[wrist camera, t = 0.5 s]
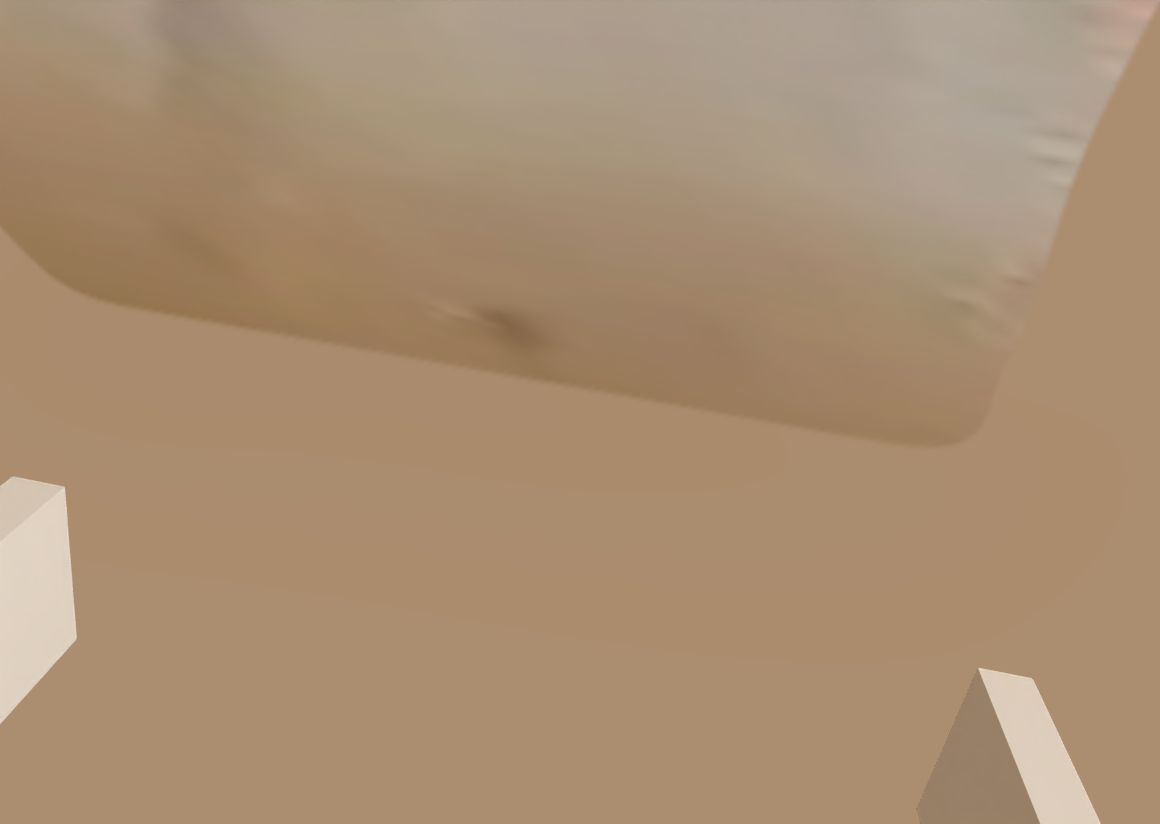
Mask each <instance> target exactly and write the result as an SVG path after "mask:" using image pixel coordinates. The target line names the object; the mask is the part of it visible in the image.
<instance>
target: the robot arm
mask: <svg viewBox="0 0 1160 824" xmlns="http://www.w3.org/2000/svg"><path fill="white" fill-rule="evenodd" d="M65 497H66V496H65V487H64V486H58V485H53V484H48V483H43V482H38V481H33V480H28V479H23V478H18V477H11V478H10V479H9V480H7V481H6V482H5V483H4V484H2V485H1V486H0V723H1V722H2V721H3V720H4V719H5V718H6V717H7V716H8V715H9V714H10V712H11V711H12V710H13V709H14V708H15V707H16V706H17V705H18V704H19V702H20V701H21V700H22V699H23V698H24V697H25V696H26V695H27V694H28V692H29V691H30V690H31V689H32V688H33V687H34V686H35V685H36V683H37V682H38V681H39V680H40V679H41V678H42V677H43V676H44V675H45V674H46V672H47V671H48V670H49V669H50V668H51V667H52V666H53V665H54V663H55V662H56V661H57V660H58V659H59V658H60V657H61V656H62V655H63V654H64V652H65V651H66V650H67V649H68V648H69V647H70V646H71V645H72V644H73V642H74V641H75V640H76V639H77V636H76V624H75V612H74V598H73V586H72V573H71V561H70V548H69V534H68V522H67V509H66V498H65ZM917 812H918V816H919V820H920V824H1100V821H1099V819H1098V817H1097V815H1096V813H1095V811H1094V809H1093V806H1092V804H1091V802H1090V800H1089V798H1088V796H1087V794H1086V792H1085V789H1084V787H1083V785H1082V783H1081V781H1080V779H1079V777H1078V775H1077V772H1076V770H1075V768H1074V766H1073V764H1072V762H1071V760H1070V757H1069V755H1068V753H1067V751H1066V749H1065V747H1064V745H1063V743H1062V740H1061V739H1060V736H1059V734H1058V732H1057V730H1056V728H1055V726H1054V723H1053V722H1052V719H1051V717H1050V715H1049V713H1048V711H1047V708H1046V706H1045V704H1044V702H1043V700H1042V698H1041V696H1040V694H1039V691H1038V689H1037V687H1036V685H1035V683H1034V681H1033V679H1032V678H1027V677H1022V676H1016V675H1012V674H1007V673H1002V672H997V671H992V670H987V669H982V668H978V669H977V671H976V673H975V675H974V678H973V680H972V683H971V685H970V687H969V689H968V692H967V694H966V696H965V698H964V701H963V703H962V705H961V708H960V710H959V712H958V715H957V717H956V719H955V721H954V724H953V726H952V728H951V730H950V733H949V735H948V737H947V740H946V742H945V744H944V747H943V749H942V751H941V753H940V756H939V758H938V761H937V763H936V765H935V767H934V770H933V772H932V774H931V777H930V779H929V781H928V783H927V786H926V788H925V790H924V793H923V795H922V797H921V799H920V802H919V804H918V806H917Z"/></svg>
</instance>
